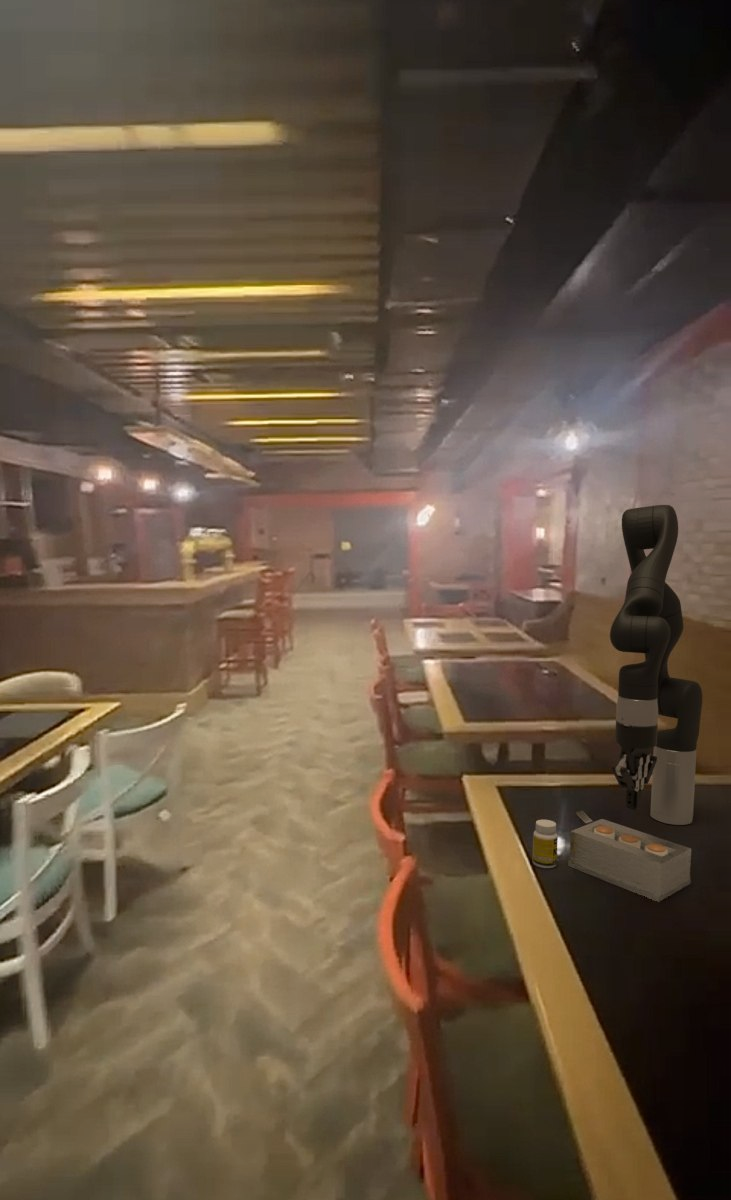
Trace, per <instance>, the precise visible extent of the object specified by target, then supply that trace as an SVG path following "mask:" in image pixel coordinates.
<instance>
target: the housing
mask: <svg viewBox="0 0 731 1200" xmlns="http://www.w3.org/2000/svg"><path fill="white" fill-rule="evenodd" d="M597 826H607V827H610V828H612V829H613V830H614V831H615V840H614V839H611V838H608V837H605V836H602V835H599V834H596V833H594V828H596V827H597ZM624 834H629V835H634V836H636V837H638V839H640V841H641V844H640V849H639V848H636V847H633V846H631V845H628V844H625V843H622V842H619V837H620V836H621V835H624ZM651 843H655V844H660V845H663V846H664V847H665V848H666V849H667V850H668V854H667V855H665V856H663V857H662V856H659V855H656V854H653V853H650V852H648V851H645V846H646V845H648V844H651ZM569 847H570V848H569V849H570V850H569V860H568V862H567V863H568V864H567V866H568V867H570V868H573V869H574V870H577V871H580V872H582V873H585V874H587V875H589V876H592V877H595V878H596V879H599V880H602V881H604V882H607V883H610V884H612V885H614V886H616V887H620V888H622V889H624V890H626V891H629V892H632V893H634V894H636V893H637V895H639V896H641V895H642V896H641V897H644V896H645V897H644V898H646V897H647V899H650V900H651V899H652V901H654V902H656V901H657V902H656V903H660V902H662V901H663V900H666V899H667V898H668V896H669V897H670V896H672V895H674V894H675V893H677V892H679V891H681V890H682V889H684V888H686V887H688V886H689V885H691V883H692V878H691V861H692V860H691V859H692V848H691V847H688V846H685V845H682V844H679V843H677V842H673V841H670V840H667V839H664V838H661V837H657V836H655V835H652V834H649V833H646V832H642V831H640V830H637V829H634V828H631V827H628V826H625V825H621V824H619V823H616V822H613V821H610V820H608V819H603V818H600V819H598V820H595V821H592V822H589V823H587V824H586V825H582V826H580V827H578V828H576V829H573V830H571V831H570V846H569Z"/></svg>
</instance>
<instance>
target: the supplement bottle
mask: <svg viewBox="0 0 731 1200" xmlns="http://www.w3.org/2000/svg"><path fill="white" fill-rule="evenodd" d="M558 835H559V834H557V823H556V822H555V821H553V820H549V819H538V820H536V822H535V830H534V831H533V835H532V836H533V837H532V859H531V860H532V864H533V865H534V866H535V867H537V868H541V869H553V868H555V867H556V866H557V863H558V862H557V860H558Z"/></svg>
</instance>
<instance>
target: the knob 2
mask: <svg viewBox="0 0 731 1200" xmlns="http://www.w3.org/2000/svg"><path fill="white" fill-rule="evenodd" d="M619 842H622V843H625V844H628V845H631V846H633V847H636V848H639V849H640V844H641V841H640V839H638V837H636V836H634V835H629V834H624V835H621V836H620V837H619Z"/></svg>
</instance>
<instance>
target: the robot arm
mask: <svg viewBox="0 0 731 1200" xmlns="http://www.w3.org/2000/svg"><path fill="white" fill-rule="evenodd" d="M621 515H622V516H621V530H622V531H621V532H622V539H623V542H624V546H625V547H624V548H625V550H626V555H627V560H628V563H629V567H630V572H631V573H630V575H629V577H628V579H627V584H626V590H625V598H624V602H623V604H622V606H621V609H620V610H619V612H618V613H617V614H616V616H615V618H614V620H613V622H612V624H611V626H610V631H609V639H610V642H611V645H612V647H613V648H614V649H616V650H617V651H619V652H623V653H635V654H644V658H645V659H644V661H642V662H638V663H631V664H625V665H623V666H621V667H620V669H619V672H618V691H617V701H616V708H615V709H616V710H615V737H614V739H615V742H616V744H617V745H619V746H620V748H621V749H620V752H619V760H620V761H619V762H618V764H613V765H612V767H611V770H612V773H613V775H614V776H615V779H616V781H617V784H618V786H619V787H620V788H622V789H626V799H625V800H626V803H625V806H626V807H627V809H630V810H633V811H637V810H638V809H641V806H642V790H643V789H644V788H645V786H644V785H648V784H649V783H650V780H652V781H651V793H650V794H651V796H650V817H651V818H652V819H654V820H655V821H658V822H660V823H664V824H668V825H674V826H685V825H689V824H692V823H693V817H694V807H695V806H694V802H695V788H696V785H695V784H696V780H695V779H696V765H697V762H696V761H697V745H698V740H699V735H700V726H701V725H700V724H701V717H702V716H701V715H702V708H703V690H702V687H701V685H700V683H698V682H696V681H694V680H690V679H683V678H678V677H677V678H676V677H671V676H670V675H669V670H668V661H669V658H670V655H671V653H672V651H673V650H674V648H675V647H676V645H677V644H678V643H679V640H680V638H681V637H682V634H683V632H684V617H683V612H682V604H681V601H680V599H679V597H678V594H676V592H675V591H674V590H673V589H672V587H670V585H669V584H668V583H667V582H666V578H667V575H668V574H667V573H668V571H669V568H670V566H671V563H672V560H673V559H672V558H673V556H674V552H675V550H676V546H677V541H678V538H679V520H678V516H677V512H676V509H674V507H673V506H671V505H670V504H656V505H649V506H642V507H634V508H628V509H625V510H624V512H623V513H622V514H621ZM645 550H651V551H650V552H649V553H648V554H647V555H646V553H645ZM659 716H664V717H668V718H674V719H677V723H676V725H675V727H673V728H668V729H663V730H658V721H659ZM651 749H653V755H652V754H651V752H652V750H651Z"/></svg>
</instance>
